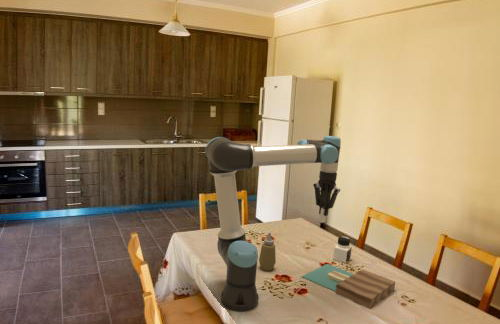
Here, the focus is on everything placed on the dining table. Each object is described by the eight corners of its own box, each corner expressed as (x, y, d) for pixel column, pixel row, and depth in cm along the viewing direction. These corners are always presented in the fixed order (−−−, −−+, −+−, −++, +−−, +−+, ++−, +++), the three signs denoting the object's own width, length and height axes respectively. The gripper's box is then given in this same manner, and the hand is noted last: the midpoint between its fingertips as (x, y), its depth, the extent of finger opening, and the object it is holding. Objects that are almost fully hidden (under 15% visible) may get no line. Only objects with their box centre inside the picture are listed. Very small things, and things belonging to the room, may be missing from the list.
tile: (344, 285, 174) (344, 281, 174) (327, 278, 180) (327, 274, 180) (350, 281, 179) (351, 277, 179) (333, 274, 185) (333, 270, 184)
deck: (370, 308, 157) (371, 299, 156) (335, 293, 167) (336, 284, 167) (394, 289, 174) (395, 281, 174) (361, 277, 185) (362, 269, 184)
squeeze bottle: (273, 273, 182) (276, 236, 179) (257, 270, 184) (259, 234, 181) (276, 266, 190) (279, 231, 187) (260, 263, 192) (262, 229, 189)
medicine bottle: (346, 263, 199) (348, 241, 197) (332, 259, 203) (335, 238, 201) (350, 259, 205) (353, 237, 203) (337, 255, 209) (339, 234, 207)
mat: (335, 292, 168) (335, 291, 168) (301, 277, 180) (301, 276, 180) (359, 277, 184) (359, 276, 184) (327, 264, 196) (327, 263, 196)
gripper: (345, 173, 170) (339, 224, 174) (320, 167, 179) (315, 216, 183) (336, 174, 165) (330, 227, 168) (311, 168, 173) (305, 219, 177)
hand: (322, 221), depth 175 cm, fingers closed
